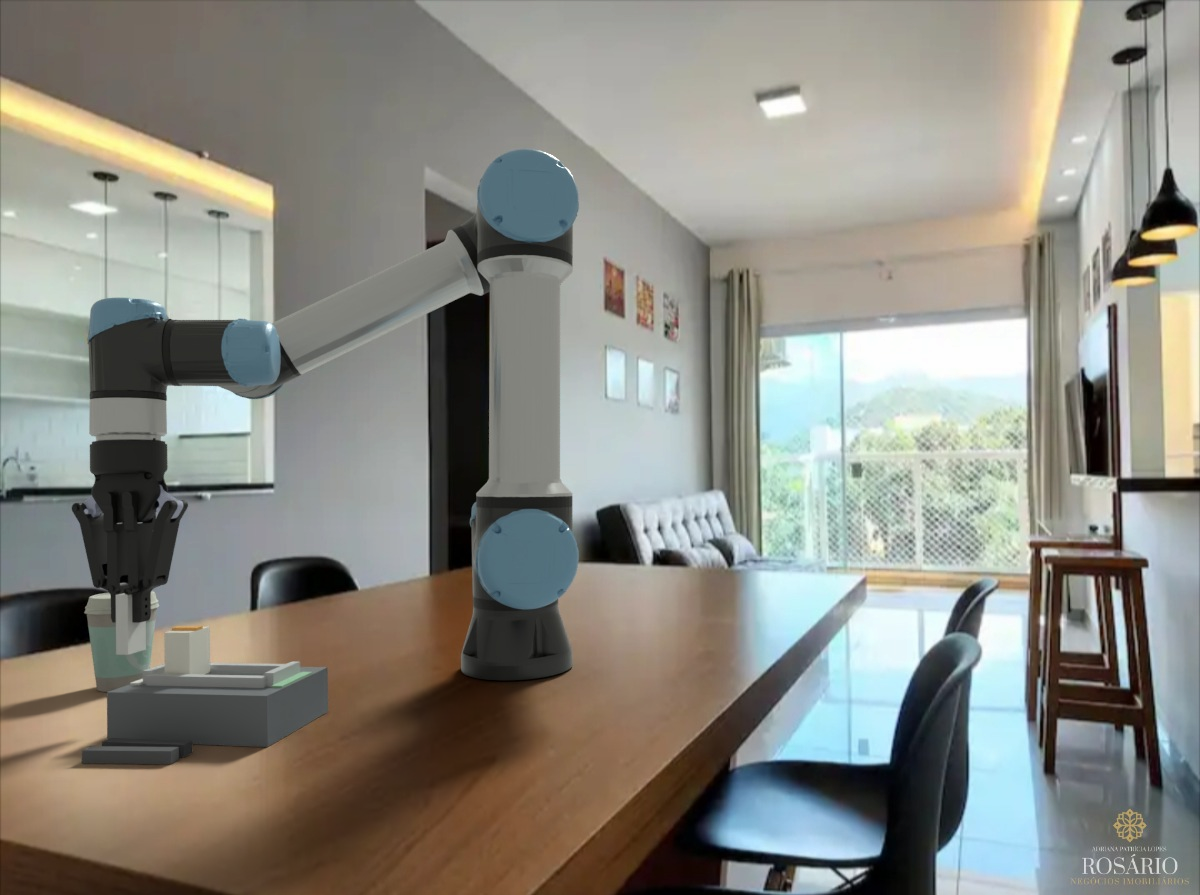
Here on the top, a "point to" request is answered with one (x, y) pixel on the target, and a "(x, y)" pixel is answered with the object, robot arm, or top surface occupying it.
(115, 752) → the dark gray bar
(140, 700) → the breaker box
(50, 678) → the top surface
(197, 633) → the white upright block
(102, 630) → the coffee cup
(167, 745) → the dark grey long bar
